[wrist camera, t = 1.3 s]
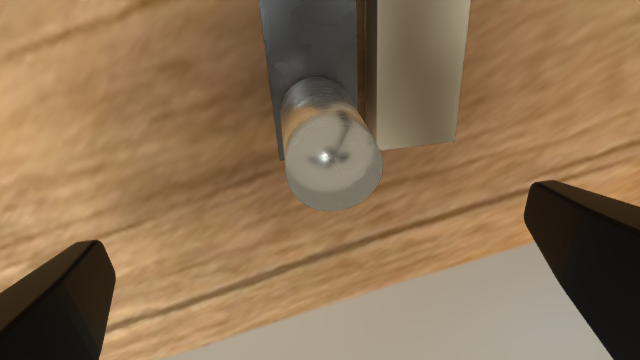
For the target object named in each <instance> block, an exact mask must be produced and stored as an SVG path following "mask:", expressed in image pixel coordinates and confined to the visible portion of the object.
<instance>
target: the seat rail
mask: <svg viewBox="0 0 640 360" xmlns="http://www.w3.org/2000/svg"><path fill="white" fill-rule="evenodd" d="M470 2H471V0H364V26H365V124H366V126H367V128H368V129H369V131H370V133H371V134H372V136H373V138H374V140H375V141H376V143H377V145H378V147H379V148H380V150H389V149H398V148H406V147H415V146H424V145H432V144H441V143H450V142H454V141H455V132H456V124H457V115H458V106H459V98H460V89H461V80H462V71H463V63H464V54H465V45H466V37H467V28H468V19H469V11H470Z"/></svg>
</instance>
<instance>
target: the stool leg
mask: <svg viewBox="0 0 640 360" xmlns="http://www.w3.org/2000/svg"><path fill="white" fill-rule="evenodd" d="M259 6H260V13H261V21H262V28H263V36H264V43H265V51H266V59H267V66H268V74H269V81H270V89H271V96H272V104H273V112H274V119H275V127H276V134H277V142H278V150H279V157H280V161H281V160H285V168H286V177H287V182H288V185H289V187H290V189H291V191H292V192H293V194H294V195H295V196H296V197H297V198H298V199H299V200H300V201H301V202H302V203H304V204H305V205H307V206H309V207H312V208H314V209H318V210H323V211H339V210H344V209H347V208H350V207H353V206H355V205H357V204H359V203H360V202H362V201H363V200H365V199H366V198H367V197H368V196H369V195H370V194H371V193H372V192H373V191H374V189H375V188H376V186H377V185H378V183H379V181H380V178H381V175H382V171H383V158H382V154H381V151H380V148H379V147H378V145H377V143H376V141H375V140H374V138H373V136H372V134H371V133H370V131H369V129H368V128H367V126H366V124H365V122H364V121H363V119H362V117H361V116H360V114H359V112H358V78H357V25H356V0H259Z"/></svg>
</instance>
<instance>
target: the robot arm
mask: <svg viewBox="0 0 640 360" xmlns="http://www.w3.org/2000/svg"><path fill="white" fill-rule="evenodd" d="M524 221H525V224H526V226H527V228H528V230H529V231H530V233H531V235H532V237H533V239H534V240H535V242H536V244H537V246H538V247H539V249H540V251H541V253H542V254H543V256H544V258H545V260H546V261H547V263H548V265H549V267H550V268H551V270H552V272H553V274H554V275H555V277H556V278H557V280H558V282H559V283H560V285H561V286H562V288H563V289H564V291H565V292H566V294H567V295H568V296H569V298H570V299H571V301H572V302H573V303H574V305H575V306H576V308H577V309H578V310H579V312H580V313H581V315H582V316H583V318H584V319H585V320H586V322H587V323H588V325H589V326H590V327H591V329H592V330H593V332H594V333H595V334H596V336H597V337H598V338H599V340H600V341H601V343H602V344H603V346H604V347H605V348H606V350H607V351H608V352H609V354H610V355H611V357H612V358H613V360H640V207H638V206H635V205H632V204H629V203H626V202H622V201H619V200H616V199H613V198H609V197H606V196H603V195H600V194H597V193H593V192H590V191H587V190H584V189H581V188H577V187H574V186H571V185H568V184H564V183H561V182H558V181H555V180H547V181H540V182H535V183H533V184H532V185H531V187H530V189H529V194H528V198H527V202H526V207H525V211H524ZM115 281H116V276H115V271H114V268H113V266H112V263H111V261H110V259H109V257H108V254H107V252H106V250H105V248H104V245H103V244H102V243H101V242H100V241H99V240H89V241H81V242H77V243H75V244H73V245H71V246H70V247H68V248H67V249H65V250H64V251H62V252H61V253H59V254H58V255H56V256H55V257H54V258H52V259H51V260H49V261H48V262H46V263H45V264H43V265H42V266H40V267H39V268H37V269H36V270H34V271H33V272H31V273H30V274H28V275H27V276H25V277H24V278H22V279H21V280H19V281H18V282H16V283H15V284H13V285H12V286H10V287H9V288H7V289H6V290H4V291H3V292H1V293H0V360H99V356H100V353H101V349H102V345H103V341H104V336H105V331H106V326H107V321H108V316H109V311H110V306H111V301H112V296H113V291H114V286H115Z"/></svg>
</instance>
